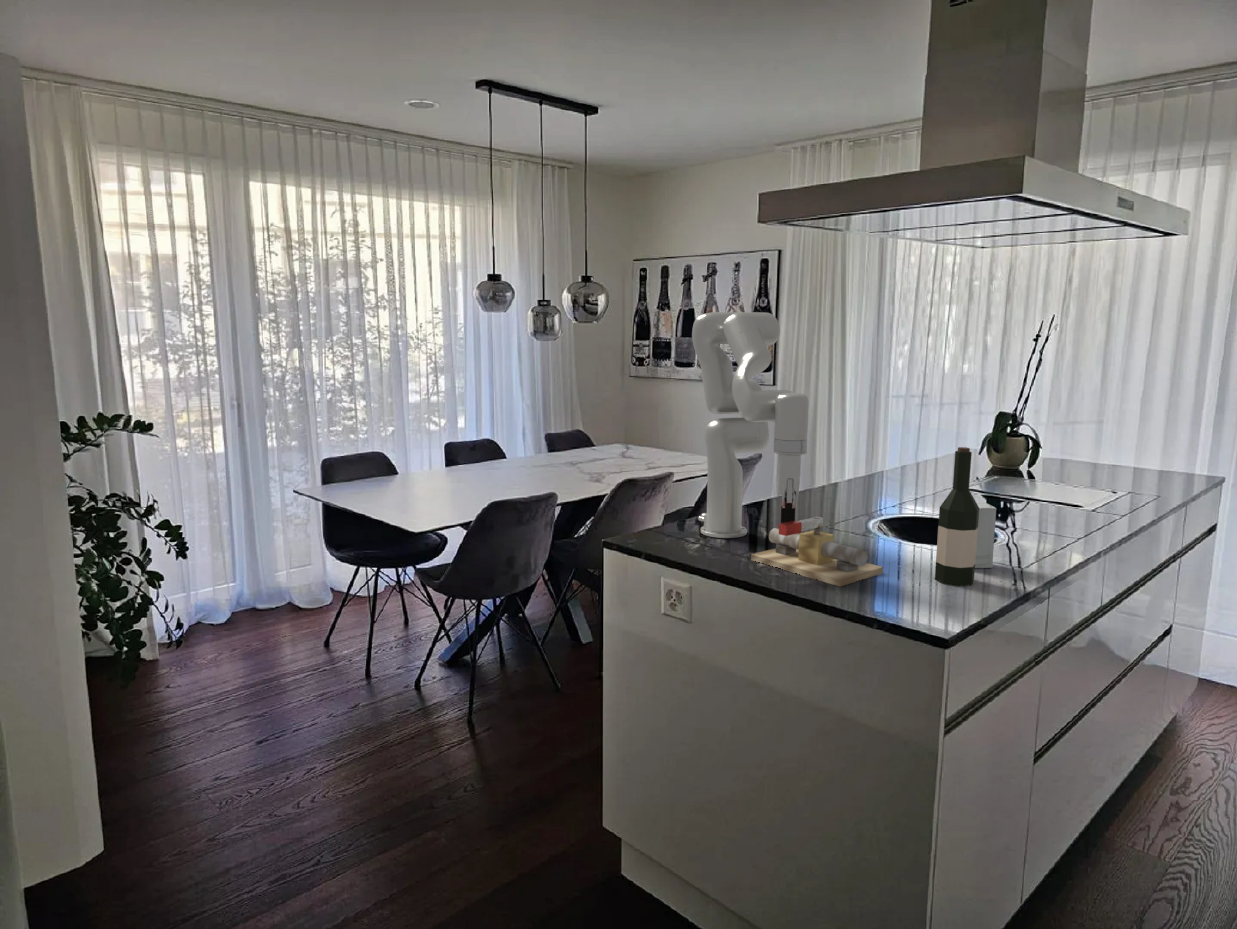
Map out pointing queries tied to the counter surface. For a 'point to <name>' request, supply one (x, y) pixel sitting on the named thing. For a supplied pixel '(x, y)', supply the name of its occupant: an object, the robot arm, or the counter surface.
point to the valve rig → (817, 557)
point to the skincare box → (985, 536)
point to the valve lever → (800, 526)
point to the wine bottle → (958, 528)
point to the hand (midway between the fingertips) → (787, 523)
